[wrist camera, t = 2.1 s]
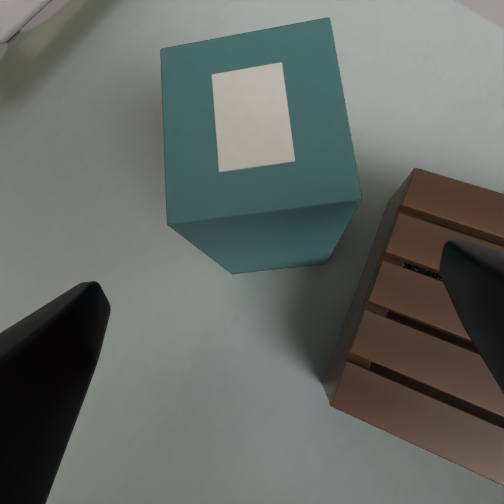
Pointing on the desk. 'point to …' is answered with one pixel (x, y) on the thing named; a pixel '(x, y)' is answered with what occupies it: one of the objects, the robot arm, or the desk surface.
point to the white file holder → (17, 15)
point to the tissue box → (259, 147)
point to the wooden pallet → (422, 330)
